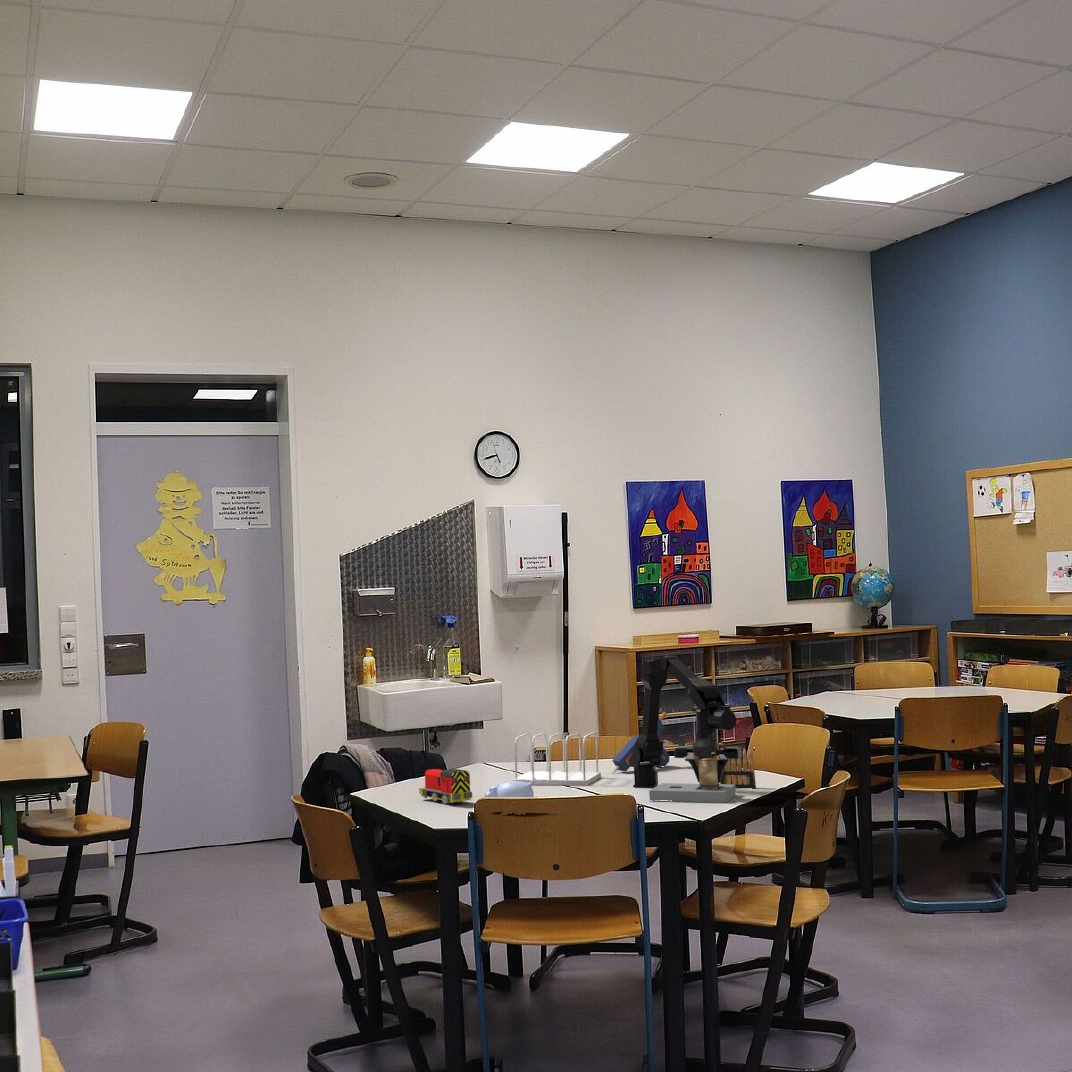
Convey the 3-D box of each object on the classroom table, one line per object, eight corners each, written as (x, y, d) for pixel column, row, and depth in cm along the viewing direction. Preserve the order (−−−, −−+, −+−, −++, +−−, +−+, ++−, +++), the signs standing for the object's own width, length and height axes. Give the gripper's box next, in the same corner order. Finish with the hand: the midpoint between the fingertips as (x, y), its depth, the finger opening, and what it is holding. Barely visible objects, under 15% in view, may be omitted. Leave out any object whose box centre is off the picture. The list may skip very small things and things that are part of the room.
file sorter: (512, 785, 379) (510, 736, 380) (529, 777, 395) (527, 730, 396) (587, 786, 371) (585, 736, 372) (601, 777, 387) (599, 730, 388)
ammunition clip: (720, 787, 356) (718, 748, 357) (721, 786, 357) (719, 747, 358) (754, 788, 351) (752, 748, 352) (756, 787, 353) (754, 747, 354)
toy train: (453, 807, 341) (452, 772, 341) (419, 800, 356) (417, 767, 356) (473, 804, 345) (471, 769, 345) (437, 797, 360) (436, 764, 361)
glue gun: (627, 801, 399) (605, 768, 395) (673, 740, 417) (653, 708, 412) (639, 802, 394) (617, 768, 390) (686, 740, 412) (665, 707, 408)
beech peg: (697, 796, 336) (696, 761, 336) (702, 793, 341) (700, 758, 342) (717, 796, 334) (715, 761, 334) (721, 793, 339) (720, 758, 340)
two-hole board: (649, 801, 337) (649, 790, 337) (662, 793, 350) (662, 783, 350) (725, 802, 329) (724, 792, 329) (735, 794, 342) (735, 784, 342)
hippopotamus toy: (491, 809, 335) (489, 775, 335) (541, 809, 331) (540, 775, 332) (480, 815, 324) (478, 781, 325) (532, 816, 321) (530, 781, 321)
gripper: (667, 731, 334) (670, 786, 333) (732, 731, 328) (735, 787, 327) (677, 726, 345) (680, 780, 344) (740, 726, 338) (743, 781, 337)
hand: (709, 782), depth 338 cm, fingers closed on beech peg, 5 cm apart
